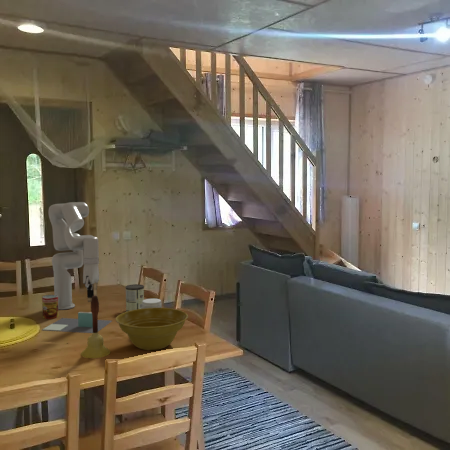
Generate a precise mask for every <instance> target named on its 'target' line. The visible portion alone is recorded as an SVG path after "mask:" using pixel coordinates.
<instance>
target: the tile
mask: <svg viewBox="0 0 450 450" xmlns="http://www.w3.org/2000/svg"><path fill="white" fill-rule="evenodd" d="M77 319H78V327H93V318H92V313H91V311H79V312H77Z"/></svg>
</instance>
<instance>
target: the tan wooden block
mask: <svg viewBox="0 0 450 450" xmlns="http://www.w3.org/2000/svg"><path fill="white" fill-rule="evenodd" d="M89 284H91V283H89ZM90 286H91V285H90ZM93 290H94V296H97V297H98V283H97V282H96V283H94V284H93ZM91 300H92V298H88V297H87V303H91Z"/></svg>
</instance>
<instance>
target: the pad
mask: <svg viewBox="0 0 450 450" xmlns="http://www.w3.org/2000/svg"><path fill="white" fill-rule="evenodd" d="M67 326H68V325H60V324H53V323H50V324H49V325H48V326H46V327H44V328H42V331H43V330H51V331H50V332H61V330H62V329H64V328H66V327H67Z"/></svg>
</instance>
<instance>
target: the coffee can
mask: <svg viewBox="0 0 450 450" xmlns="http://www.w3.org/2000/svg"><path fill="white" fill-rule="evenodd" d="M144 288H145V285H144V284H135V283H134V284H128V285H125V308H126V309H125V312H127V311H131V310H136V309H142V301H143V300H145V289H144Z"/></svg>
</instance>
